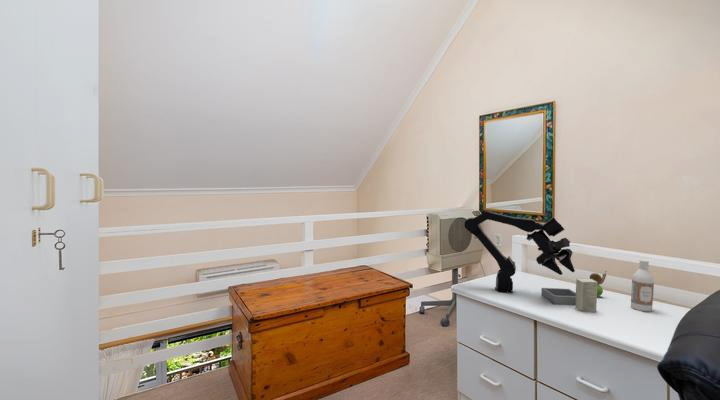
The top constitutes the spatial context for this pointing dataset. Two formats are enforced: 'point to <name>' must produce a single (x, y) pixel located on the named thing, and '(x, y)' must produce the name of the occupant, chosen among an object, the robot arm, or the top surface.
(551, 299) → the box
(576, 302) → the skincare box
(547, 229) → the robot arm
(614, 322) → the top surface
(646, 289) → the bath foam
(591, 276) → the snail figurine
